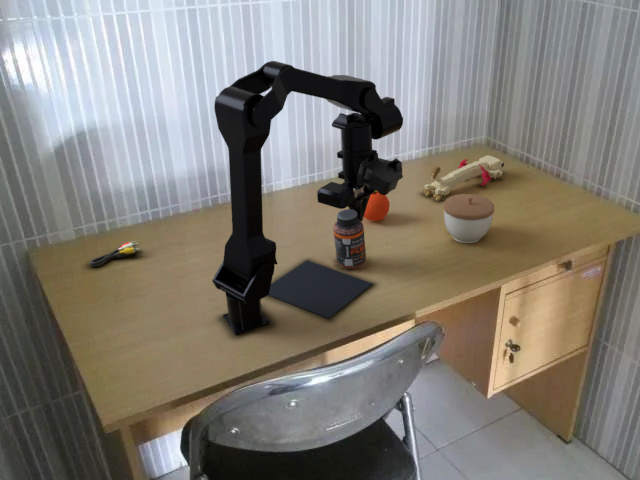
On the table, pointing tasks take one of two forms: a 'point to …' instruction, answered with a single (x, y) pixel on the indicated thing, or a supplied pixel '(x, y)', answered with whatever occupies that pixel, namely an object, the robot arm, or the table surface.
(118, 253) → the composite cable
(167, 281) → the table surface
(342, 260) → the supplement bottle
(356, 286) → the mat
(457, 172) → the beige blocky animal figure
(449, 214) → the trinket box
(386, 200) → the clementine
